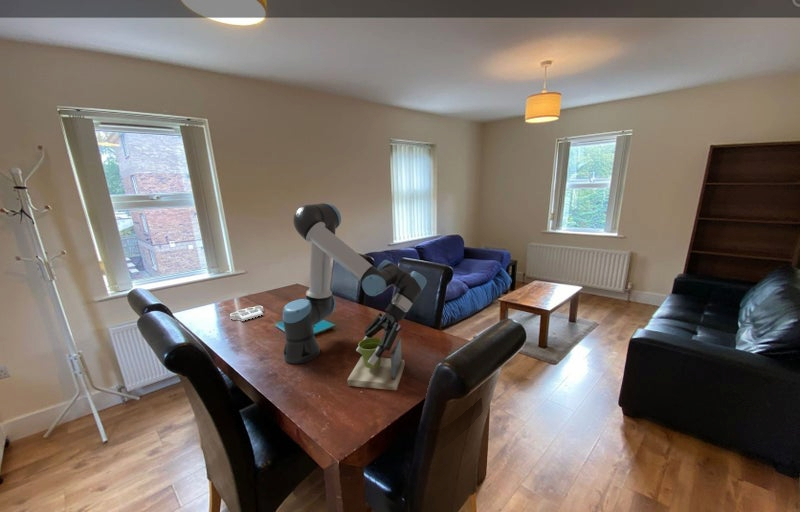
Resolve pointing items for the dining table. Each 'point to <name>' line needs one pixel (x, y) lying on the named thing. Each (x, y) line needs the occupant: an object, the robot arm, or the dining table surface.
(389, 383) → the shelf board
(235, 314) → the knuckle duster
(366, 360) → the plant pot
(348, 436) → the dining table surface
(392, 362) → the bookend
